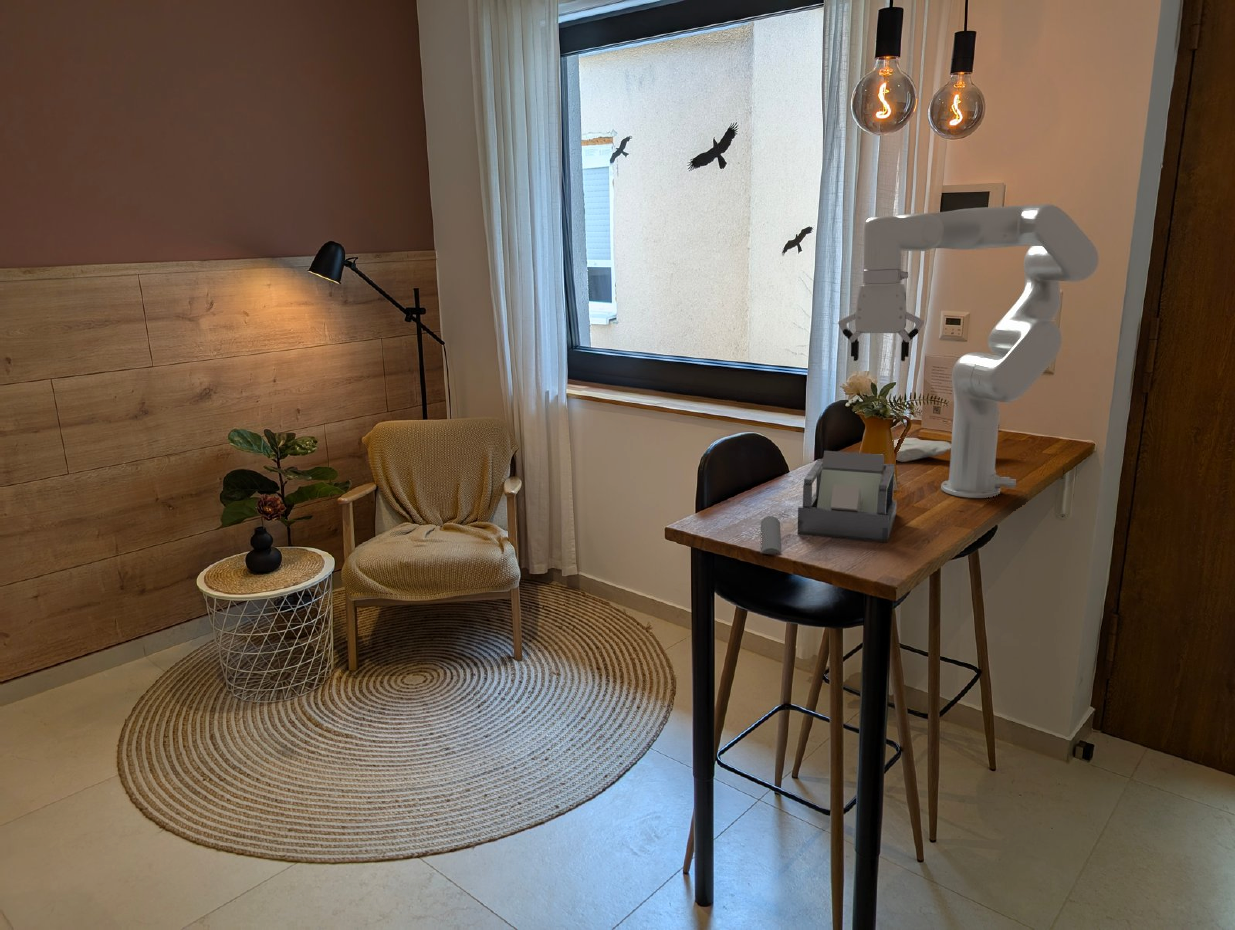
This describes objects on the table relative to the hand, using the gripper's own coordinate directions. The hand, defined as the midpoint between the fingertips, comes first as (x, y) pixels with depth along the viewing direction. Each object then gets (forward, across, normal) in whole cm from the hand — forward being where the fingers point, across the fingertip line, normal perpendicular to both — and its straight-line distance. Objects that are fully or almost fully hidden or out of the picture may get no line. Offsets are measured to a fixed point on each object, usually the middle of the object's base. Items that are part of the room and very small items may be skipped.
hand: (879, 360), depth 188 cm
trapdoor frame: (+31, +4, +17) cm, 36 cm away
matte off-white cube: (+27, +4, +20) cm, 34 cm away
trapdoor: (+24, +4, +14) cm, 28 cm away
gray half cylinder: (+32, +18, +29) cm, 47 cm away
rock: (+33, -4, -42) cm, 53 cm away
